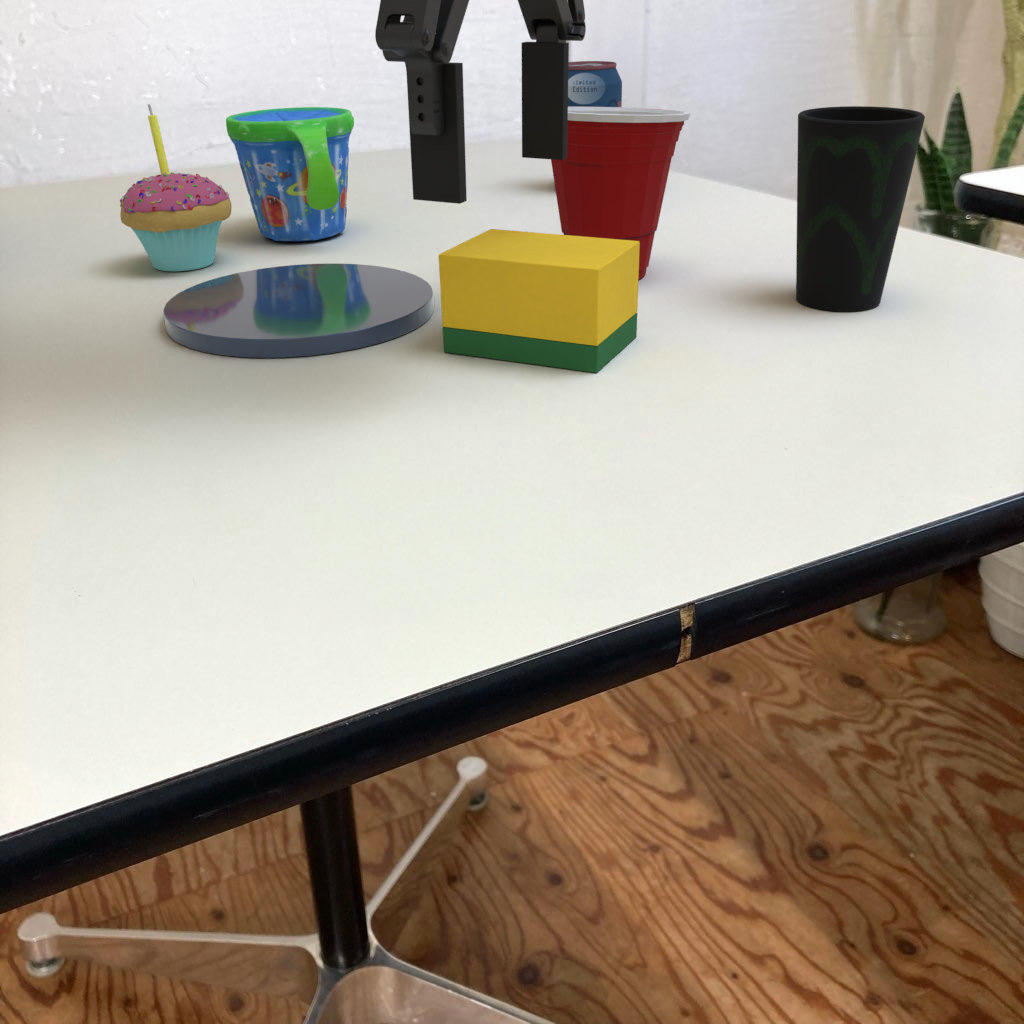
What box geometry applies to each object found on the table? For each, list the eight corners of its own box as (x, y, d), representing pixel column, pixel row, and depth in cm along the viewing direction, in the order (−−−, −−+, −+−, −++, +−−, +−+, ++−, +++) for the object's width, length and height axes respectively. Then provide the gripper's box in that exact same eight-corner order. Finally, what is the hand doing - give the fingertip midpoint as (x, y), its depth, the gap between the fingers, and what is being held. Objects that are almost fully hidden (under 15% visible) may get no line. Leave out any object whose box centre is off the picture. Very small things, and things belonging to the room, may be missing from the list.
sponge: (443, 352, 63) (437, 254, 61) (493, 319, 69) (490, 228, 66) (596, 373, 60) (598, 269, 57) (636, 337, 65) (640, 240, 62)
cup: (763, 305, 70) (780, 118, 65) (802, 279, 76) (821, 104, 70) (877, 322, 67) (906, 124, 61) (910, 293, 72) (939, 109, 67)
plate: (106, 338, 68) (102, 320, 67) (274, 270, 82) (272, 254, 81) (340, 373, 61) (338, 353, 60) (478, 292, 75) (478, 276, 74)
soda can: (600, 196, 104) (602, 67, 99) (541, 191, 108) (539, 65, 102) (631, 184, 110) (634, 61, 104) (573, 179, 113) (573, 59, 107)
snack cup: (232, 223, 98) (215, 107, 93) (343, 212, 101) (332, 99, 96) (255, 261, 84) (236, 129, 80) (382, 247, 88) (371, 119, 83)
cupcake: (114, 264, 85) (82, 106, 79) (211, 246, 89) (188, 96, 84) (157, 284, 79) (126, 116, 73) (258, 264, 84) (237, 104, 78)
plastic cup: (705, 266, 80) (716, 99, 74) (638, 301, 72) (645, 117, 66) (584, 250, 85) (585, 93, 80) (509, 281, 77) (505, 109, 72)
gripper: (432, -365, 37) (453, 230, 47) (649, -256, 57) (632, 147, 67) (261, -341, 40) (315, 216, 50) (525, -245, 60) (526, 140, 70)
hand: (497, 178), depth 59 cm, fingers open, 13 cm apart
